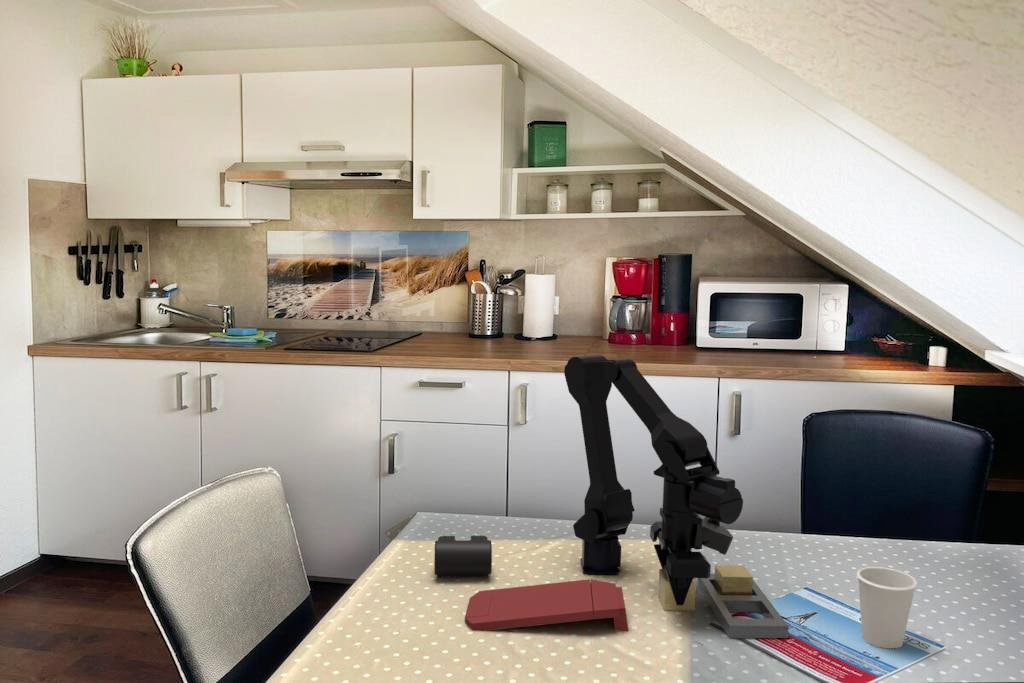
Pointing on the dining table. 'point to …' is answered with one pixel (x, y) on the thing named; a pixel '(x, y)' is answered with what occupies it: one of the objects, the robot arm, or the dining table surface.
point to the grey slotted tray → (738, 603)
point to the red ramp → (546, 605)
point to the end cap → (463, 557)
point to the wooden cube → (668, 597)
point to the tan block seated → (732, 580)
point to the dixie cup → (885, 605)
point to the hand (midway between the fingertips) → (676, 597)
